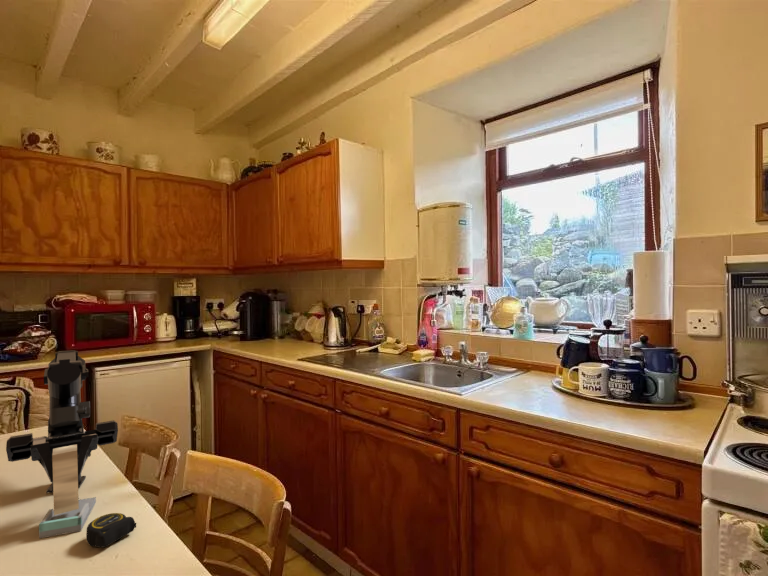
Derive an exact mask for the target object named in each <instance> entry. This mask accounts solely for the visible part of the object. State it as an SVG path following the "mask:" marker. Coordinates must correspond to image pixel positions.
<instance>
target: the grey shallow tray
mask: <svg viewBox="0 0 768 576" xmlns="http://www.w3.org/2000/svg"><path fill="white" fill-rule="evenodd" d="M96 499H97V497H96V496H95V497H88V498H87V497H86V498H82V499H78V500H79V509H76V510H72V511H69V512H65V513H61V514H57V515H54V508H49V509H48V511H47V512H46V513H45V515H44V516H43V518H42V519H41V521H40V522H39V523H38V539H43V538H48V537H49V538H50V537H54V536H55V537H56V536H59V535H65V534H72V533H77V532H82V530H83V528H84V526H85V524H86V523H87V521H88V519H89V516H90V515H91V512H92V510H93V508H94V507H95V505H96V502H97V500H96Z"/></svg>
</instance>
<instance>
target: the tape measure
mask: <svg viewBox="0 0 768 576" xmlns="http://www.w3.org/2000/svg"><path fill="white" fill-rule="evenodd" d="M136 528H137V522H136V521H135V519H134V517H133V516H126V515H125V514H124V513H120V512H112V513H107V514H104V515H100V516H98V517H97V518H95V519H94V520H92V521H91V522H90V523H89V524H88V525H87V528H86V533H85V535H86V538H85V539H86V542H87V545H89V546H90V547H98V548H105V547H108V546H109V545H111V544H113V543H114V542H116V541H118V540H120V539H121V538H123V537H125V536H127V535H129V534H130V533H132V532H134V530H135V529H136Z"/></svg>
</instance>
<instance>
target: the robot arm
mask: <svg viewBox="0 0 768 576" xmlns="http://www.w3.org/2000/svg"><path fill="white" fill-rule="evenodd" d="M54 354H55V357H54V358H53V359H52V360H51V361H50V362H48V367H47V368H44V372H43V373H44V375H43V385H47V386H48V387H47V389H48V394H49V402H48V403H49V405H48V406H49V407H48V408H49V409H48V420H47V436H45V435H44V436H38V437H33V436H34V435H33V432H30V433H25V434H24V433H23V434H19V435H14V436H13V435H12V436H10V437H9V438H8V439H7V440H6V444H5V445H6V446H5V451H6V456H7V461H8V462H12V463H13V462H17V461H23V460H28V459H30V458H31V462H39V464H40V465H41V467H42V468H43V469H44V471H45V473H46V475H47V478H48V479H49V482H50V483H51V484H50V486H49V487H48V488H47V489H46V494H49V493H50V494H51V493H52V494H53V461H52V454H53V449H54V448H60V447H65V446H70V445H76V444H77V463H78V489H80V488H81V486H82V485H83V483H84V481H85V480H86V478H87V477H86V475H82V471H83V469H84V467H85V465H86V462H87V460H88V458H89V457H91V455H92V451H96V450H97V449H98V446H105V445H110V444H115V443H117V440H118V432H119V428H118V426H119V425H118V421H116V420H113V419H112V420H109V421H101V422H96V423H95V429H92V430H86V431H85V430H84V428H85V425H84V423H83V419H87V418H90V417H91V401H90V400H89V401H82V397H81V396H82V395H81V393H82V392H81V391H82V390H81V389H82V388H83V381H86V379H87V378H89V376H90V375H89V369H88V368H87V367H86V360H85V359H84V358H82V357H81V356H79V351H78V350H75V349H74V350H61V351H57V352H55V353H54Z"/></svg>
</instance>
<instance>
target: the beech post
mask: <svg viewBox="0 0 768 576" xmlns="http://www.w3.org/2000/svg"><path fill="white" fill-rule="evenodd" d="M52 461H53V492H52V494H53V495H52V496H53V511H54V515H57V514H61V513H65V512H69V511H72V510H76V509H79V500H80V499H79V488H78V463H77V444H76V445H70V446H65V447H60V448H54V449H53V454H52Z"/></svg>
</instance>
